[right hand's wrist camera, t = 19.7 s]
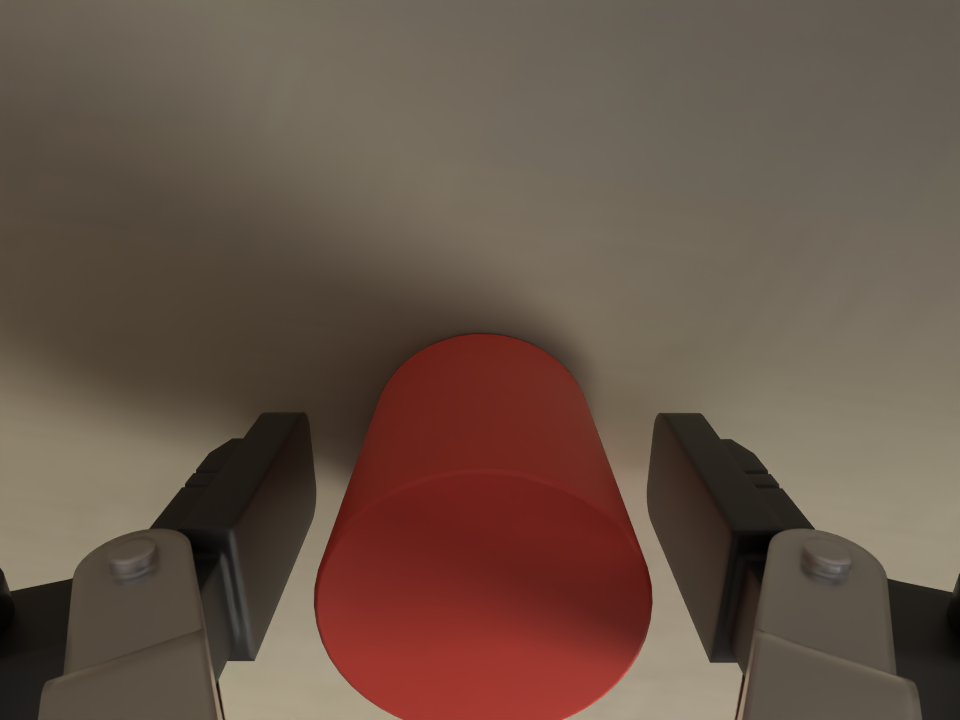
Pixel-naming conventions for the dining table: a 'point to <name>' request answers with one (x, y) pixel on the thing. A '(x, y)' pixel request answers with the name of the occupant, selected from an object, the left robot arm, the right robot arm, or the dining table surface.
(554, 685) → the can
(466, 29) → the dining table surface
